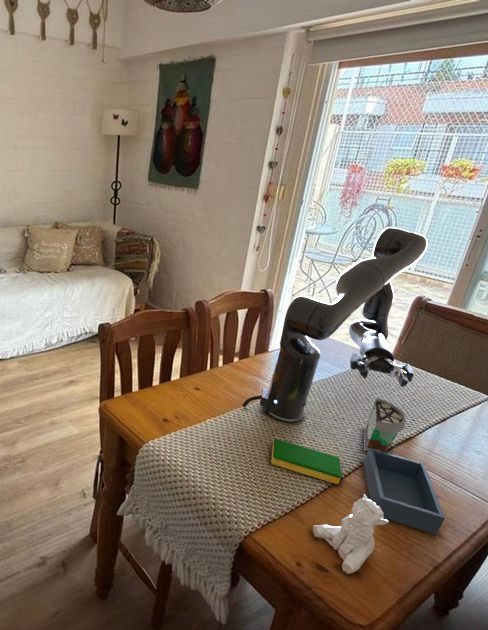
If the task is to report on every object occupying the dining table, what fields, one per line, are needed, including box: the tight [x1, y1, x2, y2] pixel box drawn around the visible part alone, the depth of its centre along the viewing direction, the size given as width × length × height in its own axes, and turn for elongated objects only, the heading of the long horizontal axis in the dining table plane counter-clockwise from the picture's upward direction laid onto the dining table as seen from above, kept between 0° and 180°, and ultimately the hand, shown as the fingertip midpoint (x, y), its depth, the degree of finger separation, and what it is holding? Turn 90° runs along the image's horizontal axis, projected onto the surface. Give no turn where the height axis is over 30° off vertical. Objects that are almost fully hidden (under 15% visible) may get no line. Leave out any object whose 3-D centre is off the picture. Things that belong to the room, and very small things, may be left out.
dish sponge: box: [270, 438, 342, 485], centre depth 102 cm, size 7×14×2 cm, turn 64°
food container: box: [363, 397, 406, 454], centre depth 107 cm, size 12×6×10 cm, turn 148°
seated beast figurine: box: [312, 493, 390, 575], centre depth 80 cm, size 10×9×12 cm
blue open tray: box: [362, 448, 446, 536], centre depth 93 cm, size 11×17×4 cm, turn 154°
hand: (384, 379), depth 116 cm, fingers open, 8 cm apart
